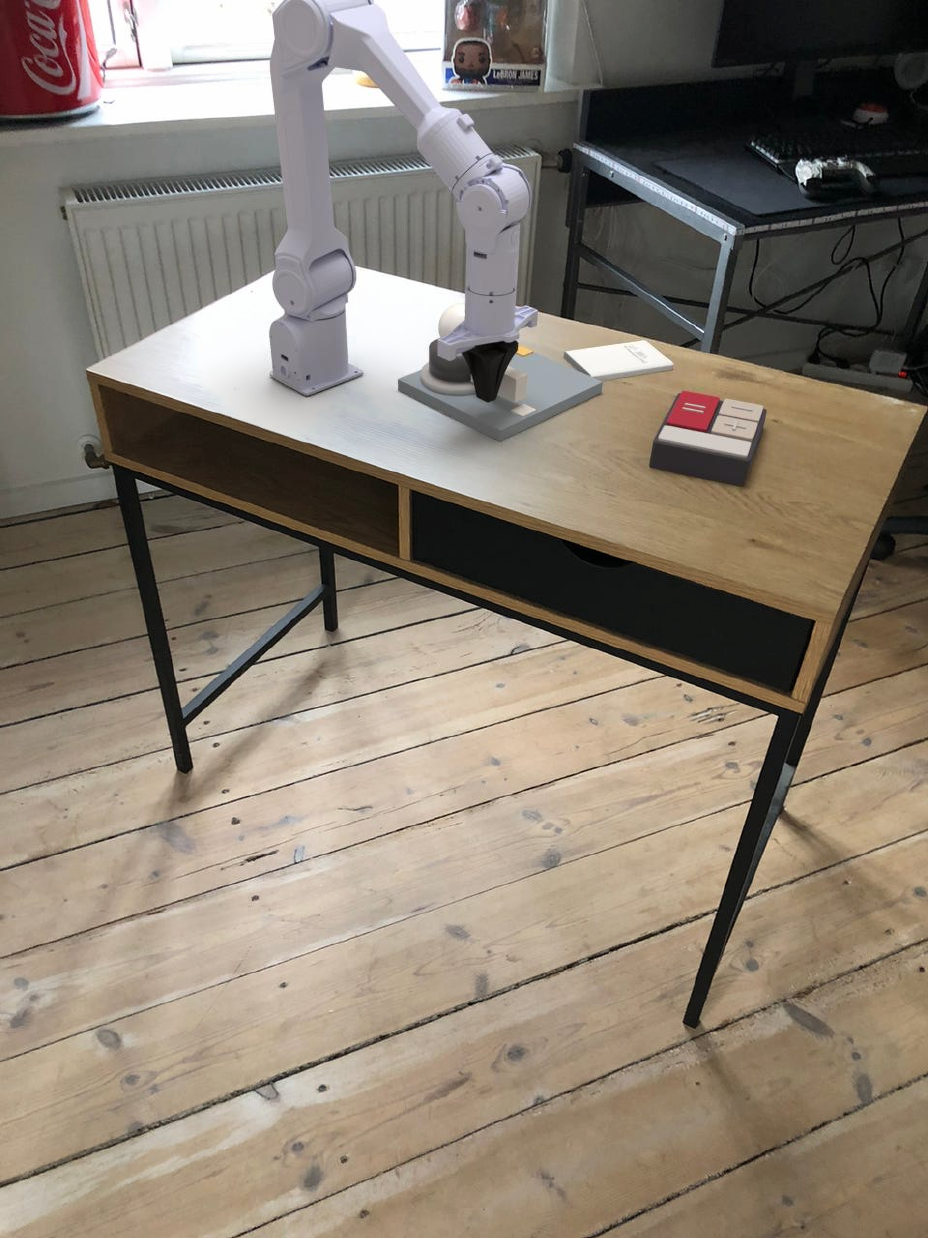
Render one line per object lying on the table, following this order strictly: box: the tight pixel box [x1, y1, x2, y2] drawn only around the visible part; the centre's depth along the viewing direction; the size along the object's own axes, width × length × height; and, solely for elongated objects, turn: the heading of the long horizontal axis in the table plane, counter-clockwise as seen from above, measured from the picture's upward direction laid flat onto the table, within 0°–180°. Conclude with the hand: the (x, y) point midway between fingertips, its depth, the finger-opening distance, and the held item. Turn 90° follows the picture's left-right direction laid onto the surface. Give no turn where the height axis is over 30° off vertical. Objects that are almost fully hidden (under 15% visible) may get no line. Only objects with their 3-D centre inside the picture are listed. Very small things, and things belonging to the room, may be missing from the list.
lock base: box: [397, 344, 604, 443], centre depth 131 cm, size 19×18×2 cm
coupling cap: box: [428, 337, 528, 402], centre depth 127 cm, size 14×7×3 cm, turn 45°
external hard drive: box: [563, 339, 675, 382], centre depth 139 cm, size 2×8×12 cm
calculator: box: [648, 390, 768, 488], centre depth 121 cm, size 11×4×15 cm
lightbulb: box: [437, 302, 465, 338], centre depth 141 cm, size 6×6×11 cm
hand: (486, 398), depth 122 cm, fingers closed
